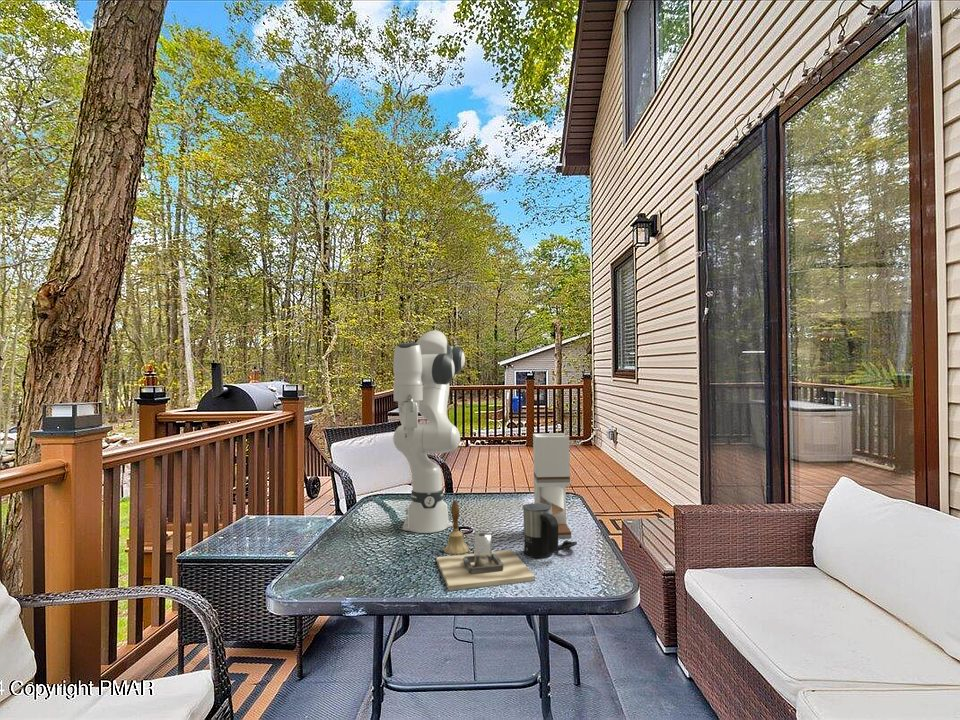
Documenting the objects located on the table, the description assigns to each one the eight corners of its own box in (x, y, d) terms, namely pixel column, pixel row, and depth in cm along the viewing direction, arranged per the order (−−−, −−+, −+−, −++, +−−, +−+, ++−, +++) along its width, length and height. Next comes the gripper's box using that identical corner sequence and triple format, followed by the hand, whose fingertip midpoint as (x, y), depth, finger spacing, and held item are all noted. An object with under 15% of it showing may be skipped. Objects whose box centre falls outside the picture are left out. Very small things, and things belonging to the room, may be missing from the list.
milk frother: (517, 554, 157) (516, 506, 158) (546, 541, 169) (545, 497, 169) (554, 564, 148) (553, 514, 148) (582, 550, 159) (581, 504, 160)
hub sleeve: (472, 563, 146) (472, 532, 146) (488, 561, 147) (488, 530, 148) (477, 570, 141) (476, 538, 141) (493, 568, 143) (493, 536, 143)
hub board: (436, 561, 152) (436, 552, 152) (511, 553, 158) (511, 544, 158) (448, 590, 131) (448, 580, 131) (535, 580, 136) (534, 570, 136)
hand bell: (449, 556, 156) (448, 505, 157) (439, 548, 164) (439, 499, 164) (473, 552, 160) (472, 502, 160) (463, 544, 167) (462, 496, 168)
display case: (538, 538, 172) (536, 437, 173) (534, 529, 182) (533, 433, 184) (571, 538, 172) (569, 436, 173) (566, 529, 182) (563, 433, 184)
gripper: (422, 395, 143) (423, 444, 142) (415, 394, 163) (415, 436, 162) (400, 396, 141) (401, 445, 141) (395, 394, 161) (396, 437, 161)
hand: (408, 440), depth 152 cm, fingers open, 8 cm apart
